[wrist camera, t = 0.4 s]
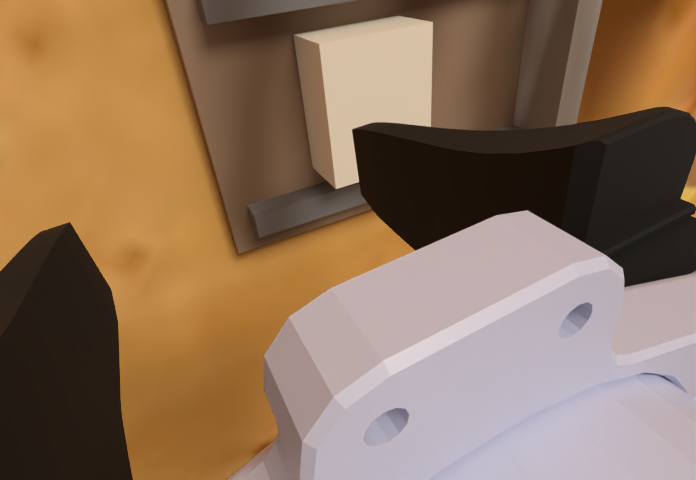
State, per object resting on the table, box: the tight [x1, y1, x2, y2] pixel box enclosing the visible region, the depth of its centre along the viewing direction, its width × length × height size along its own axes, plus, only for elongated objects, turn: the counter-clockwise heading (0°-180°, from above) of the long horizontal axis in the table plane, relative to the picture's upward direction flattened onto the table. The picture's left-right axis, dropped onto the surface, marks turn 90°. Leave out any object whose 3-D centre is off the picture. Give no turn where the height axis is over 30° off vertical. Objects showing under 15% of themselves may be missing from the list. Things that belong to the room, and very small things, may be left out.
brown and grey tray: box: [164, 0, 603, 254], centre depth 21 cm, size 20×13×4 cm, turn 96°
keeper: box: [293, 16, 433, 189], centre depth 20 cm, size 5×6×3 cm
